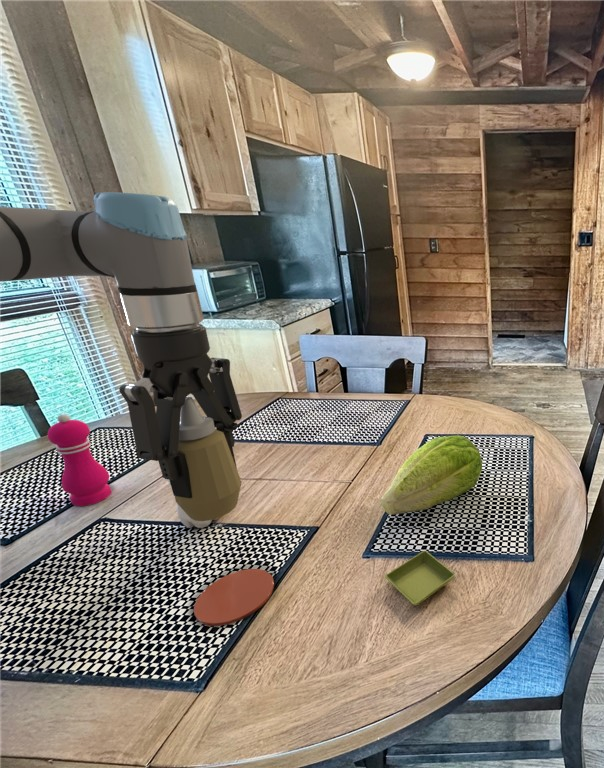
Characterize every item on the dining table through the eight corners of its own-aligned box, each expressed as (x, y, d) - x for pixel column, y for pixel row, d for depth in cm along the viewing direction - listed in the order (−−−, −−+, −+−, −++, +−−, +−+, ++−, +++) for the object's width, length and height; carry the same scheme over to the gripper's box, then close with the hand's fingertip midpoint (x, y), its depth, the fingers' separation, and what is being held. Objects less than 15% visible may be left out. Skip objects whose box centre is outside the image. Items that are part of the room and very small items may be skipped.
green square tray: (456, 584, 72) (456, 574, 71) (414, 615, 66) (414, 605, 65) (425, 558, 77) (425, 549, 77) (384, 585, 71) (383, 575, 70)
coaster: (186, 598, 67) (185, 595, 67) (259, 561, 75) (259, 559, 75) (206, 640, 61) (205, 637, 61) (285, 595, 69) (284, 592, 68)
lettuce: (356, 478, 90) (382, 474, 79) (444, 430, 106) (476, 421, 94) (385, 536, 91) (415, 540, 79) (468, 480, 107) (502, 477, 95)
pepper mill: (82, 511, 87) (49, 424, 80) (60, 503, 89) (27, 418, 82) (122, 492, 93) (95, 410, 87) (101, 485, 96) (73, 405, 89)
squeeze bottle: (176, 534, 57) (141, 414, 51) (185, 502, 64) (155, 393, 58) (245, 517, 61) (220, 403, 55) (246, 489, 68) (224, 385, 62)
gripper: (209, 311, 63) (238, 447, 70) (52, 340, 45) (114, 519, 52) (252, 315, 61) (277, 453, 69) (109, 346, 43) (164, 528, 51)
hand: (207, 481), depth 61 cm, fingers closed on squeeze bottle, 6 cm apart
